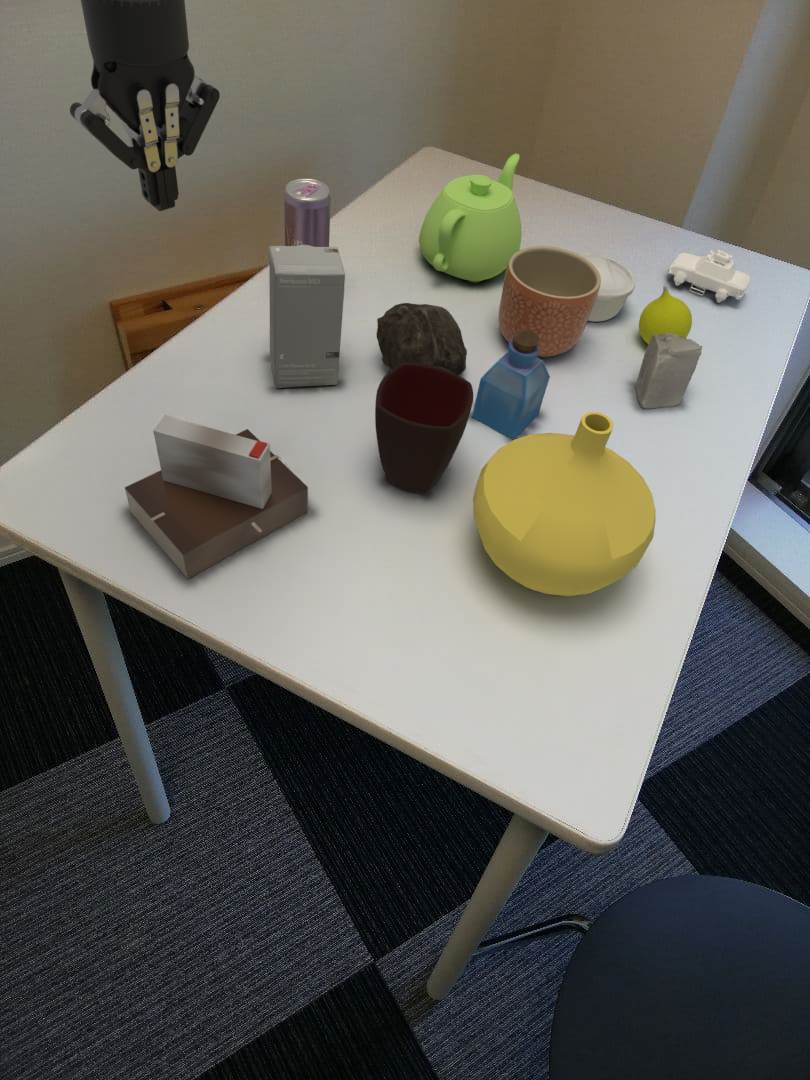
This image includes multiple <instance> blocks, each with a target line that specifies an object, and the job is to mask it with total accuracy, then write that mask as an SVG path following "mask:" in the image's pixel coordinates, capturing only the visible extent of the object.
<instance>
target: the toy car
mask: <svg viewBox="0 0 810 1080" xmlns="http://www.w3.org/2000/svg"><path fill="white" fill-rule="evenodd" d="M733 257H734V255H731V253H728V252H725V251H724V250H722V249H716V251H713V250H710V251H709V252H708V253H707V254H706V255H702V256H699V255H695V254H692V253H689V252H681V253H679V254H678V256H676V259H675V260H674V261H672V263H671V265H670V267H669V269H668V270H667V272H668V274H670V275H673V282H674V284H675V286H680V285H682V284H683V283H684V282H688V283H690V284H691V286H690V288H689V292H692V293H694V294H697V295H699V296H704V295H705V292H706V291H707V290H709V291H712V292H715V298H714V299H715V300H716V303H718V304H719V303H720V304H721V302H723V303H724V302H725V300H727V298H729V297H734V298H735V299H736V300H741V299H742V298H743V297H744V295H745V294H746V292H747V290H748V288H749V283H750V281H751V275H749V274H747V273H745V272H742V271H740V270H737V269H736V267H735V262H734V260H733ZM693 286H695V287H693ZM691 289H693V290H695V291H696V292H695V291H693V290H691ZM698 292H700V293H698ZM701 293H702V294H701Z"/></svg>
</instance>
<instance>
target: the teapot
mask: <svg viewBox="0 0 810 1080" xmlns="http://www.w3.org/2000/svg"><path fill="white" fill-rule="evenodd" d="M519 161H520V154H519V153H513V154H511V155H510V157H508V159H507V160H506V162H505V164H504V166H503V168H502V170H501V173H500V175H499V176H498V179H497V180H494V179H492V178H491V177H489V176H487V175H485V174H473V175H472V174H471V175H463V176H459V177H456V178H454V179H452V180H450V182H448V183H447V184H446V185H445V186H444V188H443V189H442V190H441V191H440V192H439V194H438V195H437V197H436V198H435V199H434V200H433V202H432V204H431V206H430V207H429V209H428V210H427V213H426V214H425V217H424V219H423V222H422V225H421V228H420V231H419V236H418V244H419V249H420V251H421V253H422V255H423V256H424V258H425V260H426V261H427V262H428V264H430V265H431V266H433V268H434V269H435V270H436V271H438V272H443V273H445V274H447V275H450V276H452V277H455V278H458V279H462V280H466V281H468V282H470V283H475V284H476V283H480V282H482V281H486V280H489V279H492V278H494V277H497V276H498V275H500V274H501V273H503V272H504V271H506V269H507V266H508V263H509V260H510V258H511V257H512V256H513V255H514V254H515V253H516V252H518V251H519V250H521V244H522V221H521V216H520V212H519V208H518V204H517V201H516V197H515V195H514V193H513V189H514V188H513V187H514V185H513V184H514V176H515V173H516V168H517V166H518V163H519Z"/></svg>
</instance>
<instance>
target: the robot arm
mask: <svg viewBox="0 0 810 1080" xmlns="http://www.w3.org/2000/svg"><path fill="white" fill-rule="evenodd" d="M80 4H81V8H82V14H83V15H82V16H83V19H84V20H83V21H84V25H85V26H84V27H85V30H86V36H87V41H88V47H89V51H90V53H91V58H92V61H93V62H92V63H93V67H92V72H91V75H90V85H91V87H92V90H91V91H90V93H89V94H88V95H87V97H86V99H84V101H83V102H82V103H80V102H73V103H72V104H71V105H70V108H69V114H70V115H71V117H72V118H73V119H74V120H75V121H76V122H77V123H78V124H80V125H81V127H83V128H84V129H85V130H86V131H87V132H88V133H89V134H90V135H91V136H93V137H94V138H95V139H96V140H97V141H98V142H99V143H100V144H101V145H102V146H103V147H105V148H106V149H107V150H108V151H109V152H110V154H112V155H113V156H114V157H115V158H117V159H118V160H119V161H120V162H122V163H123V164H124V165H126V166H127V167H128V168H129V169H131V170H137V169H138V176H139V182H140V188H141V194H142V197H143V198H144V200H145V201H146V202H147V203H149V204H150V205H151V206H152V207H154V208H155V209H156V210H157V211H158V212H163V211H166V210H171V209H173V208H175V207H176V200H178V198H179V185H178V178H177V177H178V175H177V170H176V166H177V164H178V162H179V159H180V158H181V157H183V156H184V155H185V156H189V157H190V156H192V155H193V154H194V152H195V150H196V148H197V146H198V144H199V142H200V140H201V138H202V135H203V133H204V132H205V129H206V127H207V126H208V123H209V121H210V119H211V118H212V117H211V116H212V115H213V113H214V110H215V109H216V107H217V104H218V102H219V100H220V95H221V94H220V91H219V89H217V88H216V87H215V86H213V85H212V84H211V83H209V82H207V81H206V80H204V79H202V78H200V77H197V75H195V74H196V72H195V68H194V65H193V62H191V60H190V58H189V54H188V51H189V49H190V42H189V33H188V32H189V30H188V21H187V11H186V1H185V0H80ZM106 106H107V107H108V108H109V109H110V110H111V111H112V112H113V113H114V114H115V115H116V117H118V118H119V120H121V121H122V123H123V127H124V131H125V133H126V134H127V136H128V138H129V143H130V146H129V145H128V144H126V143H125V141H123V140H122V139H121V138H120V137H119V136H118V134H116V133H115V132H114V131H113V130H112V129H111V128H110V127H109V126H110V125H111V116H110V115H109V113H108V111H107V108H106Z"/></svg>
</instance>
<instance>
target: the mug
mask: <svg viewBox="0 0 810 1080" xmlns="http://www.w3.org/2000/svg"><path fill="white" fill-rule="evenodd" d="M473 402H474V389H473V385H472V383H471V382H470V381H469V380H467V379H466V378H464V377H462V376H460V375H459V376H458V375H456V374H454V373H453V372H451V371H450V370H448V369H446V368H444V367H437V366H430V365H425V364H418V363H401V364H399V365H398V366H396V367H395V368H393V369H390V370H389V371H388V372H387V373H386V374H385V375H384V376H383V378H382V379H381V380H380V382H379V385H378V387H377V390H376V394H375V403H374V404H375V406H374V407H375V409H374V423H375V435H376V442H377V449H378V455H379V456H378V457H379V460H380V465H381V468H382V471H383V474H384V477H385V479H386V482H387V483H389V484H391V485H392V486H394V487H396V488H398V489H399V490H403V491H404V492H405V491H406V492H409V493H414V494H427V493H429V492H430V491H432V489H434V488H435V486H436V485H437V484H438V482H439V480H441V478H442V476H443V475H444V473H445V471H446V470H447V468H448V466H449V465H450V463H451V461H452V459H453V456H454V455H455V452H456V450H457V449H458V446H459V444H460V443H461V440H462V437H463V435H464V433H465V430H466V428H467V425H468V421H469V420H470V419H469V418H470V416H471V415H470V414H471V412H472V407H473Z"/></svg>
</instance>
